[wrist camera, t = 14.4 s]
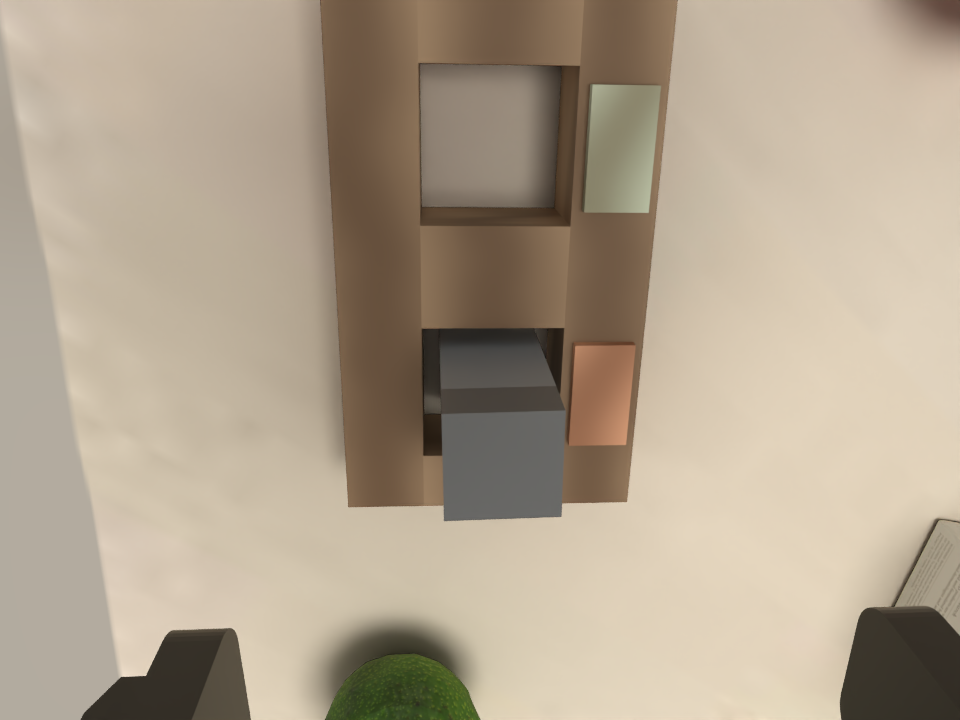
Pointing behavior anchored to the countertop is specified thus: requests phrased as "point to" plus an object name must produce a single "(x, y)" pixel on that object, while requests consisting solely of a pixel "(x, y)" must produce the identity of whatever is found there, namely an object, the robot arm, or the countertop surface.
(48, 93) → the countertop surface
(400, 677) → the avocado
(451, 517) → the plug
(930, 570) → the supplement box
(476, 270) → the socket block
